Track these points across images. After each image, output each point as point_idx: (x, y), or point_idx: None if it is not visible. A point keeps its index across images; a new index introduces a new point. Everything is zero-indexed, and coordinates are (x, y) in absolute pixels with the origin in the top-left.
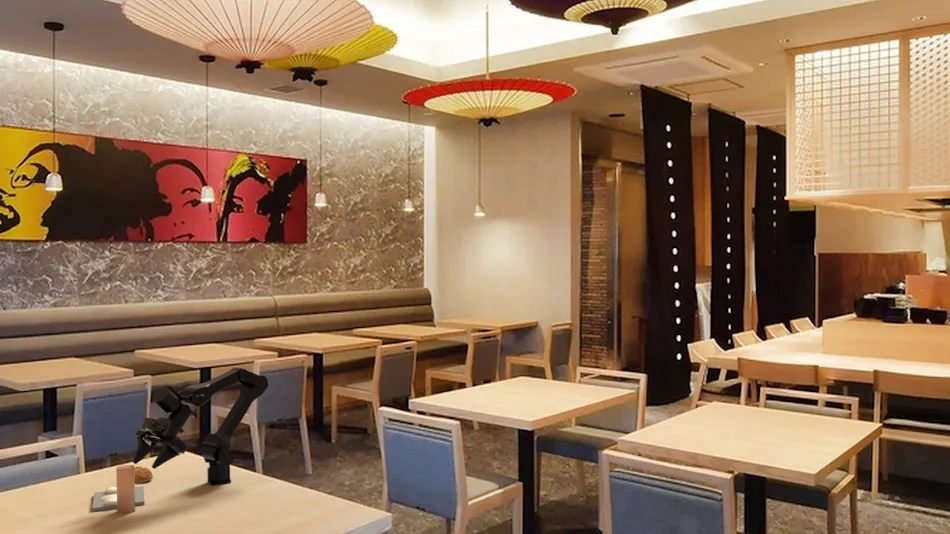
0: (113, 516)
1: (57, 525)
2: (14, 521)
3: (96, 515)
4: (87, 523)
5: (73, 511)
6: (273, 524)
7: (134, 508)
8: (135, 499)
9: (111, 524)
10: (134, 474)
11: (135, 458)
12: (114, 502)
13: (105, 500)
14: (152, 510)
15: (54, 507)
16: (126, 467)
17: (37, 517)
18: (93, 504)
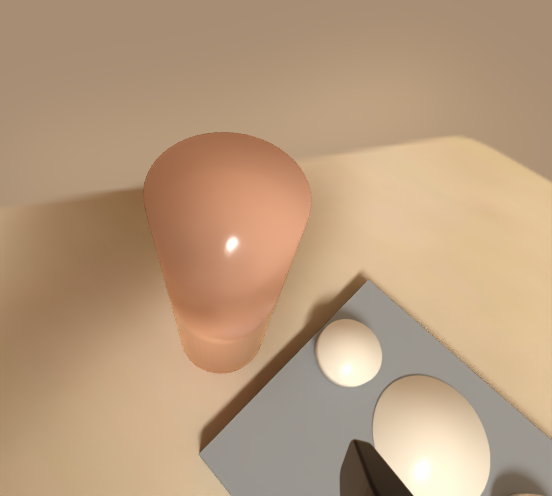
0: None
1: (346, 160)
2: (494, 162)
3: (308, 257)
4: None
5: (433, 270)
6: None
7: (181, 341)
8: (278, 463)
9: None
10: (163, 267)
11: (368, 470)
12: (318, 342)
13: (376, 340)
14: (89, 385)
15: (541, 285)
16: (212, 186)
17: (475, 198)
18: (411, 320)
